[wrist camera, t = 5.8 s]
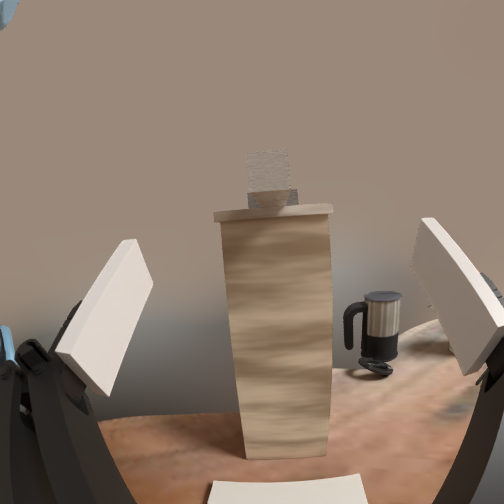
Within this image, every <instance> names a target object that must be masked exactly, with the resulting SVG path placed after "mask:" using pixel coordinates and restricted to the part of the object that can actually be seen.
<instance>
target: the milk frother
mask: <svg viewBox="0 0 504 504" xmlns="http://www.w3.org/2000/svg"><path fill="white" fill-rule="evenodd" d="M363 297H364V298H365V301H364V302H356V303H353V304H351V305H350V306H349V307H347V309H346V310H345V312H344V316H343V320H344V321H343V323H344V342H345V347H346V349H348V350H351V349H352V348H353V317H354V316H355V314H357V313H359V312H363V321H362V341H361V349H362V351H361V356H362V357H363V358H360V359H359V361H358V362H359V364H360V365H361V366H363V367H364V368H366V369H368V370H370V371H372V372H374V373H378V374H381V375H382V376H384V375H390V374H392V372H393V367H391V366H389V365H388V364H386V363H383V362H386V361H390V360H392V359H394V358H396V356H397V355H398V352H397V343H398V329H399V317H400V299H401V297H402V294H400V293H397V292H393V291H375V292H369V293H366V294H365V295H364V296H363ZM368 363H373V364H376V365H373V364H371V365H369V364H368Z"/></svg>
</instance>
